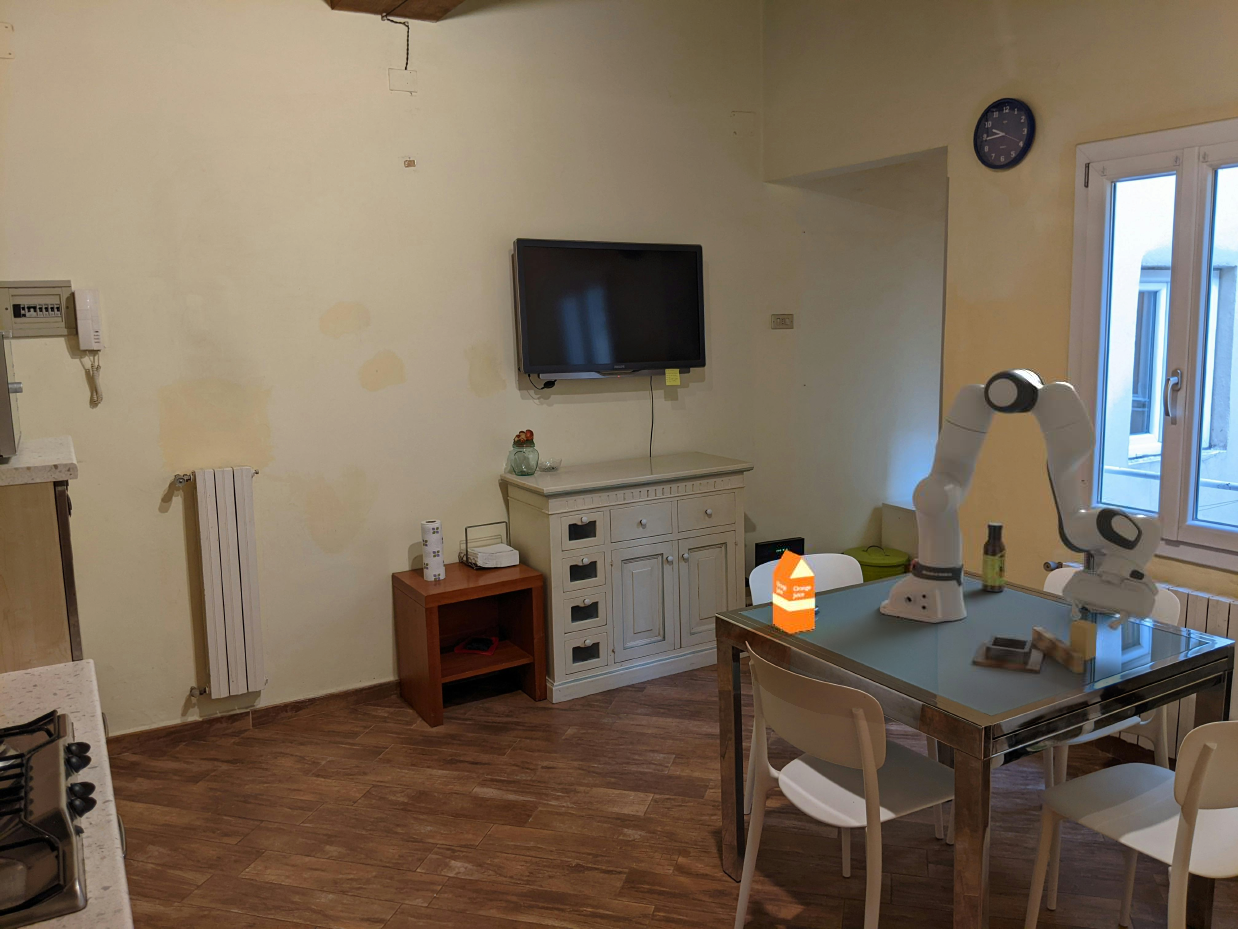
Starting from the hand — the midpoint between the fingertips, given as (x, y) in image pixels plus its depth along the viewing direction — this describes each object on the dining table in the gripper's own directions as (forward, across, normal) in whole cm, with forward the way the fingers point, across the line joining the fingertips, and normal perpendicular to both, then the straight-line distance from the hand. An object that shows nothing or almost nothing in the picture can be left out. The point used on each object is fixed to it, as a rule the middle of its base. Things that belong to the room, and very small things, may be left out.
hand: (1092, 623), depth 214 cm
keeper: (+18, -9, -8) cm, 22 cm away
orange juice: (+36, -56, -25) cm, 71 cm away
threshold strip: (+11, -3, -1) cm, 12 cm away
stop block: (+8, 0, +3) cm, 8 cm away
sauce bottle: (-14, -48, +24) cm, 55 cm away
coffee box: (-19, -19, +30) cm, 40 cm away
